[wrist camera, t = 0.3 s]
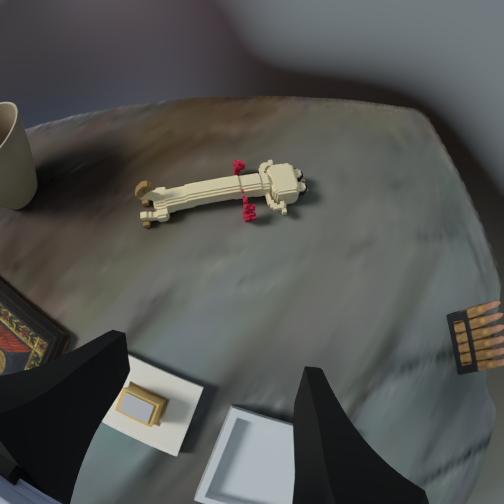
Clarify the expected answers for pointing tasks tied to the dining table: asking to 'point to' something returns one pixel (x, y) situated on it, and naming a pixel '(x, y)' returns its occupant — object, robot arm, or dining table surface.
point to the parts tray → (250, 461)
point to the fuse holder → (174, 413)
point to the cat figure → (226, 191)
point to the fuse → (140, 405)
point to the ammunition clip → (476, 338)
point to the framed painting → (26, 335)
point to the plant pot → (15, 160)
